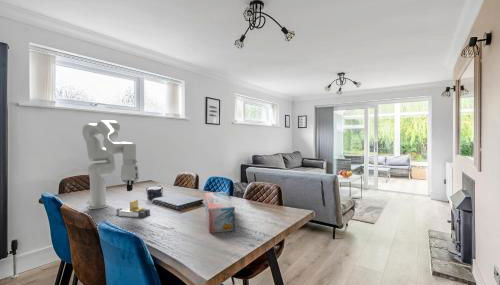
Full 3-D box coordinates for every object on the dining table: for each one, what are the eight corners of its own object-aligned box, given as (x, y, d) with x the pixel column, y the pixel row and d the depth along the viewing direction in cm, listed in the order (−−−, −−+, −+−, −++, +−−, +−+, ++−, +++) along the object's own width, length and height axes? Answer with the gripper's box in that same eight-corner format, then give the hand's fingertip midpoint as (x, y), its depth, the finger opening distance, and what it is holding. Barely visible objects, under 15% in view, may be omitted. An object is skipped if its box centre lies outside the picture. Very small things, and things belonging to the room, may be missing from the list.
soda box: (236, 231, 127) (235, 207, 127) (209, 234, 124) (208, 209, 124) (225, 209, 167) (225, 190, 167) (204, 211, 164) (204, 191, 164)
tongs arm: (113, 215, 156) (113, 210, 156) (119, 213, 161) (119, 208, 161) (142, 217, 151) (142, 212, 151) (147, 215, 155) (147, 210, 155)
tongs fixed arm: (123, 214, 158) (122, 209, 158) (126, 212, 161) (126, 208, 161) (146, 215, 155) (146, 210, 154) (149, 214, 157) (149, 209, 157)
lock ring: (129, 211, 153) (129, 202, 153) (137, 207, 160) (136, 199, 160) (138, 211, 151) (137, 202, 151) (145, 208, 158) (145, 199, 158)
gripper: (143, 161, 158) (143, 190, 159) (123, 161, 161) (123, 188, 162) (135, 163, 151) (135, 192, 152) (114, 162, 154) (115, 191, 155)
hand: (129, 190), depth 157 cm, fingers closed
